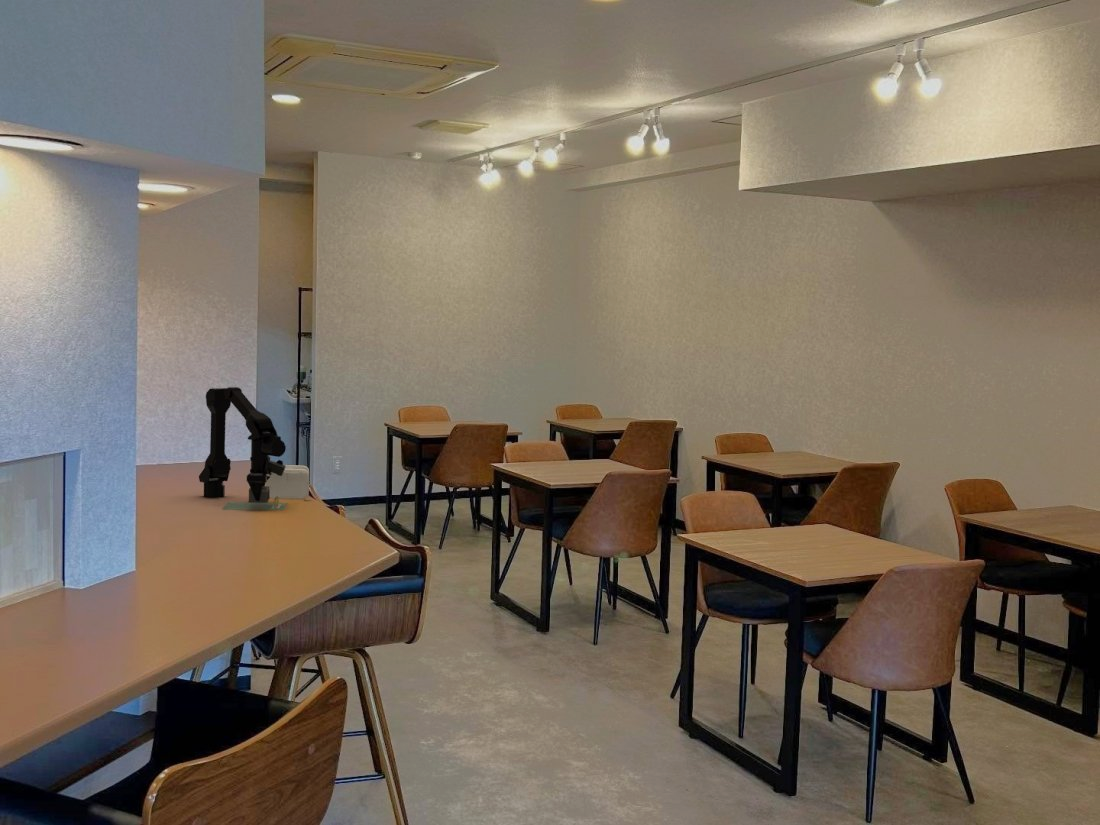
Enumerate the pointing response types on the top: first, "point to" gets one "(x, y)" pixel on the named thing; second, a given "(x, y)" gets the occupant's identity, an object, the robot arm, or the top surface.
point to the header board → (255, 506)
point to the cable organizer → (290, 483)
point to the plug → (263, 497)
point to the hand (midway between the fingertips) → (259, 498)
